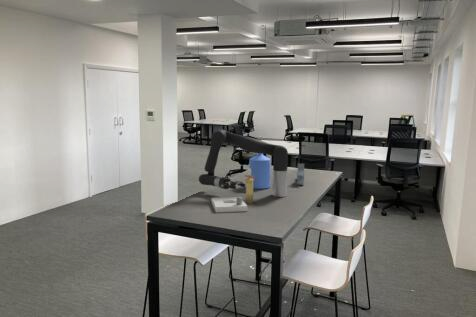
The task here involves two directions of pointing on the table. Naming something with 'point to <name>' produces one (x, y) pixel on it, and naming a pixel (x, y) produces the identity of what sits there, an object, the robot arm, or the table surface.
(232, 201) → the plate
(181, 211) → the table surface
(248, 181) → the valve
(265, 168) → the water jug
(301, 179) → the faucet
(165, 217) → the table surface
